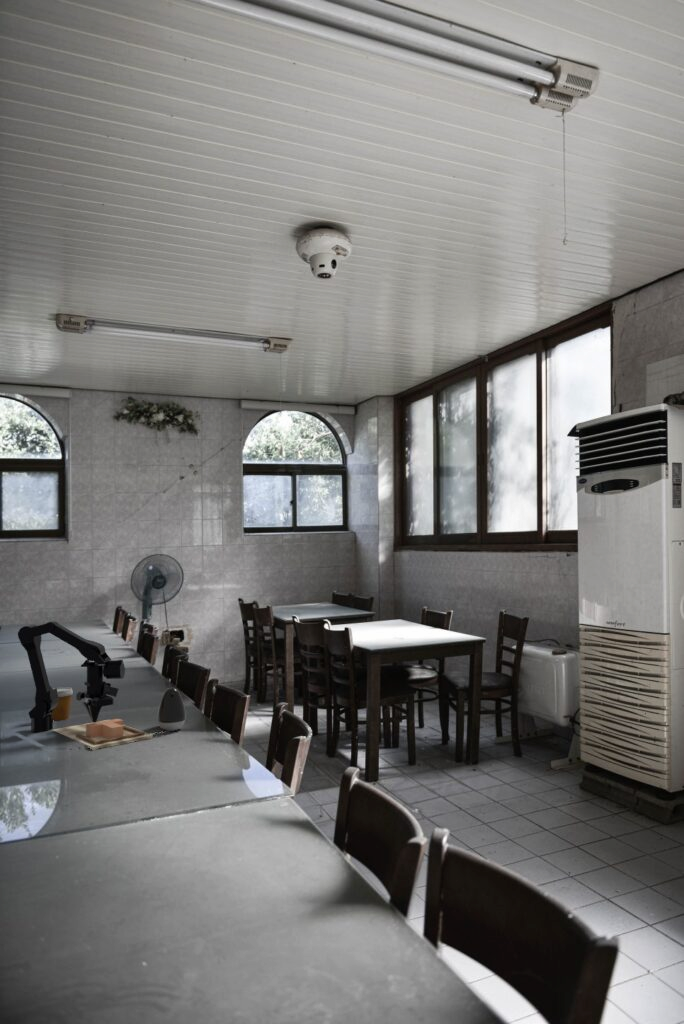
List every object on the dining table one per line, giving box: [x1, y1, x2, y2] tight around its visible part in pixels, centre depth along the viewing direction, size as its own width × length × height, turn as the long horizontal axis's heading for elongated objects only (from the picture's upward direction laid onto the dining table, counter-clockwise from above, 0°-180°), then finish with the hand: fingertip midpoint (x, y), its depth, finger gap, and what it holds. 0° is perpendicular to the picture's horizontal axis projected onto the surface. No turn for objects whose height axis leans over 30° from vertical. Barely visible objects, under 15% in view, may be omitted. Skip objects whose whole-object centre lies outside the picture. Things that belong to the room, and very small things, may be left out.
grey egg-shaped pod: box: [157, 687, 187, 732], centre depth 267 cm, size 10×10×15 cm
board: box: [52, 719, 154, 751], centre depth 260 cm, size 22×34×2 cm, turn 43°
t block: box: [85, 718, 124, 739], centre depth 255 cm, size 12×12×4 cm
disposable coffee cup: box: [50, 686, 74, 722], centre depth 284 cm, size 10×10×12 cm
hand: (94, 722), depth 264 cm, fingers closed
